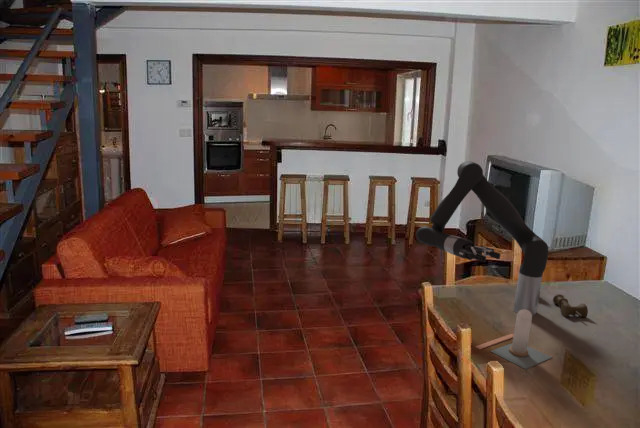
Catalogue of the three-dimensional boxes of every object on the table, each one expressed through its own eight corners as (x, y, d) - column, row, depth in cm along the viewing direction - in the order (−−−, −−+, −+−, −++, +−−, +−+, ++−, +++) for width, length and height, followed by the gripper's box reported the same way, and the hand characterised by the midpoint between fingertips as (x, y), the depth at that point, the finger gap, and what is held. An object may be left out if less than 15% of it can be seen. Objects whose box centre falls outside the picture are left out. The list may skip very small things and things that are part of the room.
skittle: (515, 346, 191) (522, 304, 187) (531, 354, 186) (539, 311, 182) (505, 350, 187) (512, 308, 184) (520, 358, 182) (528, 315, 179)
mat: (517, 341, 196) (517, 341, 196) (551, 358, 185) (551, 357, 185) (490, 351, 187) (490, 351, 187) (525, 369, 176) (525, 368, 176)
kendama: (567, 305, 238) (592, 323, 218) (546, 305, 237) (569, 322, 218) (569, 292, 237) (594, 309, 217) (548, 292, 236) (571, 309, 216)
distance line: (511, 334, 202) (512, 333, 202) (516, 336, 201) (516, 335, 201) (475, 347, 190) (475, 346, 189) (480, 349, 188) (480, 348, 188)
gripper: (447, 239, 204) (482, 250, 191) (471, 235, 212) (505, 246, 199) (445, 257, 205) (479, 270, 193) (468, 253, 214) (502, 265, 201)
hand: (492, 258), depth 196 cm, fingers open, 8 cm apart
